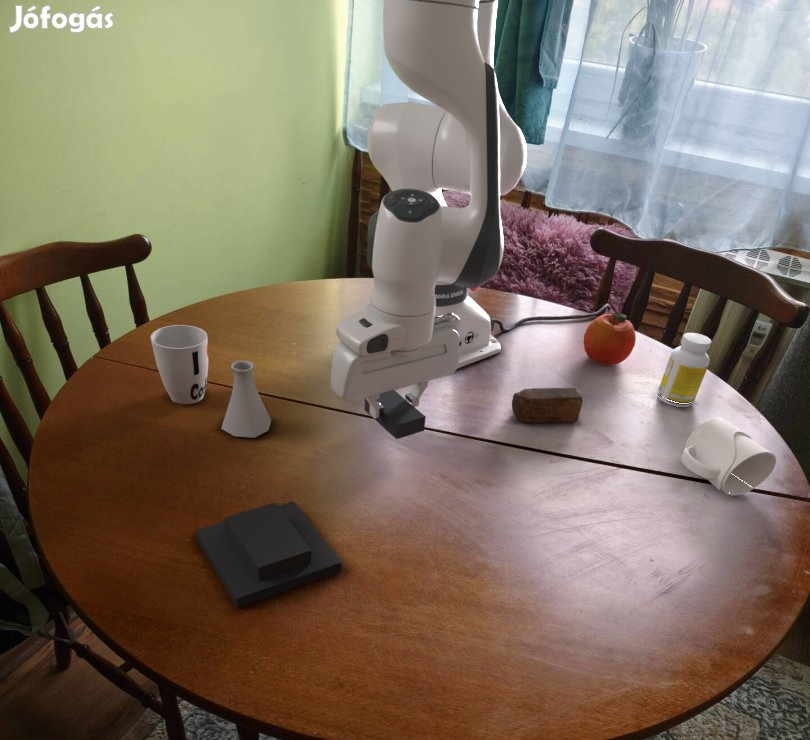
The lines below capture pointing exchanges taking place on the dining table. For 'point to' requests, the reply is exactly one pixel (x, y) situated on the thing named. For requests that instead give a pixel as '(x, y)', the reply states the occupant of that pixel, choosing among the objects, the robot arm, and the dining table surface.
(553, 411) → the brick
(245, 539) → the medium pad
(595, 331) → the fruit
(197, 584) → the dining table surface
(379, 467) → the dining table surface
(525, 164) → the robot arm
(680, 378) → the pill bottle
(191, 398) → the cup
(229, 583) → the base pad
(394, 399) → the top pad
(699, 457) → the mug
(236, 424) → the flask
